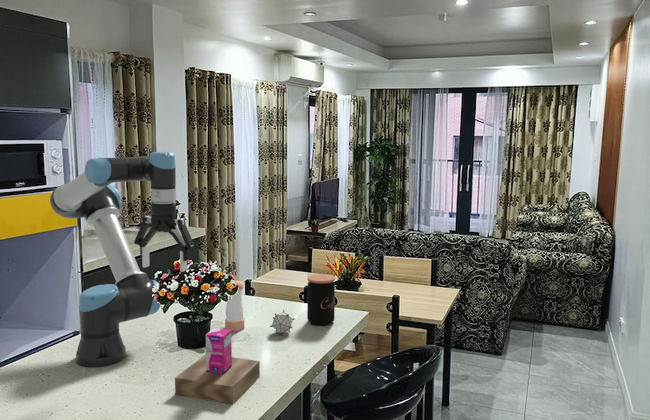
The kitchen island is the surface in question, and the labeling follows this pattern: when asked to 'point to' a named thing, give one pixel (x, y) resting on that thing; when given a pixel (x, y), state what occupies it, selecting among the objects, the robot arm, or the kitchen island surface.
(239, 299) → the pepper shaker
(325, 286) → the coffee jar
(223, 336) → the supplement box
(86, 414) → the kitchen island surface
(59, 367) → the kitchen island surface
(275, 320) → the spiky geometric ball
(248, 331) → the kitchen island surface
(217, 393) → the block
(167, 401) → the kitchen island surface
